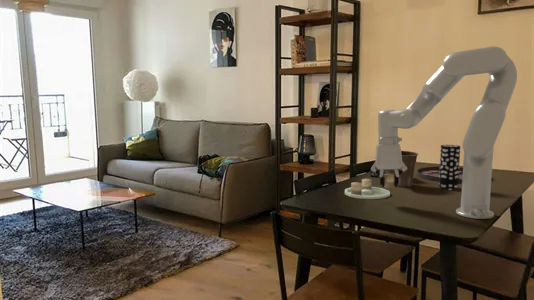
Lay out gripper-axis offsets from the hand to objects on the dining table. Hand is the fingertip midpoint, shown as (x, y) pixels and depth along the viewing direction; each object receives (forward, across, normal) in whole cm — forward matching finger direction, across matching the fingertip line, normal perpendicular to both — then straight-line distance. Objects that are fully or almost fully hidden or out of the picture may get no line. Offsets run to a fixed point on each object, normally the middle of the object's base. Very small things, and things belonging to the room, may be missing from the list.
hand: (389, 185), depth 174 cm
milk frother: (+7, -2, -56) cm, 56 cm away
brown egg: (0, 0, 0) cm, 0 cm away
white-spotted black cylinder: (+9, -30, -34) cm, 46 cm away
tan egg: (+6, +13, -11) cm, 18 cm away
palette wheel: (+9, -37, -64) cm, 75 cm away
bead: (+6, +8, -19) cm, 22 cm away
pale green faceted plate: (+7, +8, -14) cm, 17 cm away
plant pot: (+8, -8, -36) cm, 38 cm away
